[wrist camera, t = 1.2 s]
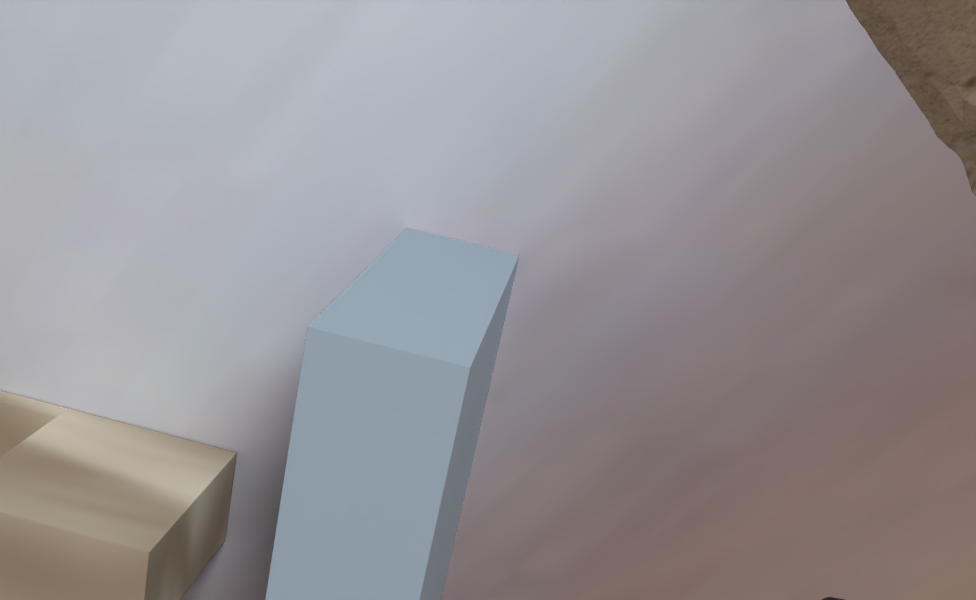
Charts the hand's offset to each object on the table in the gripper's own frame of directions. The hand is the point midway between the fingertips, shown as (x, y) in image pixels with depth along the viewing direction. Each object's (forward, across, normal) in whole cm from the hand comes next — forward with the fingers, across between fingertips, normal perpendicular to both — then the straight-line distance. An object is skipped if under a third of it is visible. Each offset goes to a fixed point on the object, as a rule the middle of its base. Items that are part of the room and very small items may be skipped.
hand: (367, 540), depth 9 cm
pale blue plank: (+11, -1, +9) cm, 14 cm away
